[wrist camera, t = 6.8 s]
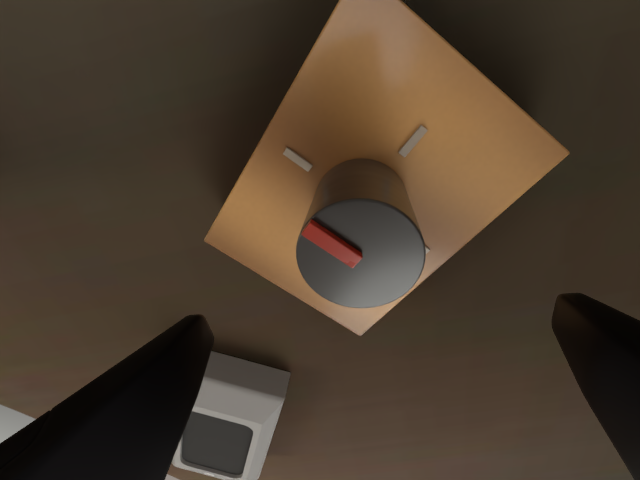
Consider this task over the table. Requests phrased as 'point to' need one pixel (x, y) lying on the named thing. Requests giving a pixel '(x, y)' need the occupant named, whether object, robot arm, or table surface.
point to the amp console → (383, 146)
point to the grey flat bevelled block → (232, 419)
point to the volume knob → (361, 237)
